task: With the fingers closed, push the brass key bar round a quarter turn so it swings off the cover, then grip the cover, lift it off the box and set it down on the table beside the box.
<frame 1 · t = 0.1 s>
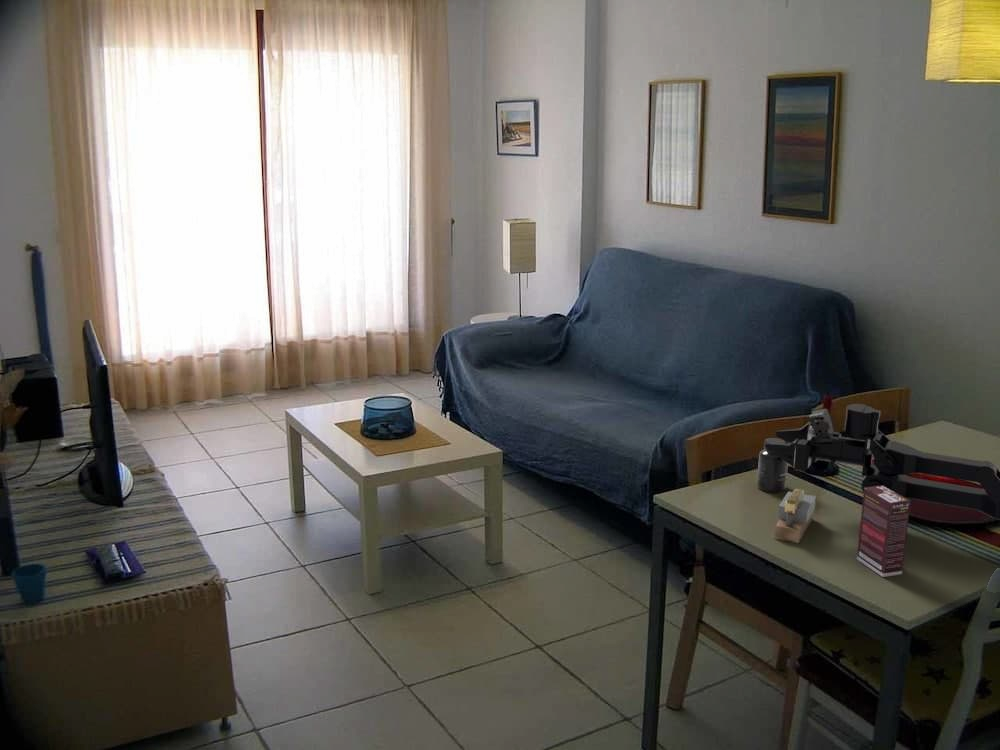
hand: (770, 439, 218), 17 cm above the table, tool horizontal, fingers open, 9 cm apart
turn key: (794, 500, 207), point 7 cm above the table, hinge at 0.0°
key box: (793, 528, 211), on the table
supplement bottle: (771, 488, 233), on the table
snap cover: (796, 513, 211), point 3 cm above the table, touching key box
supplement box: (878, 567, 194), on the table
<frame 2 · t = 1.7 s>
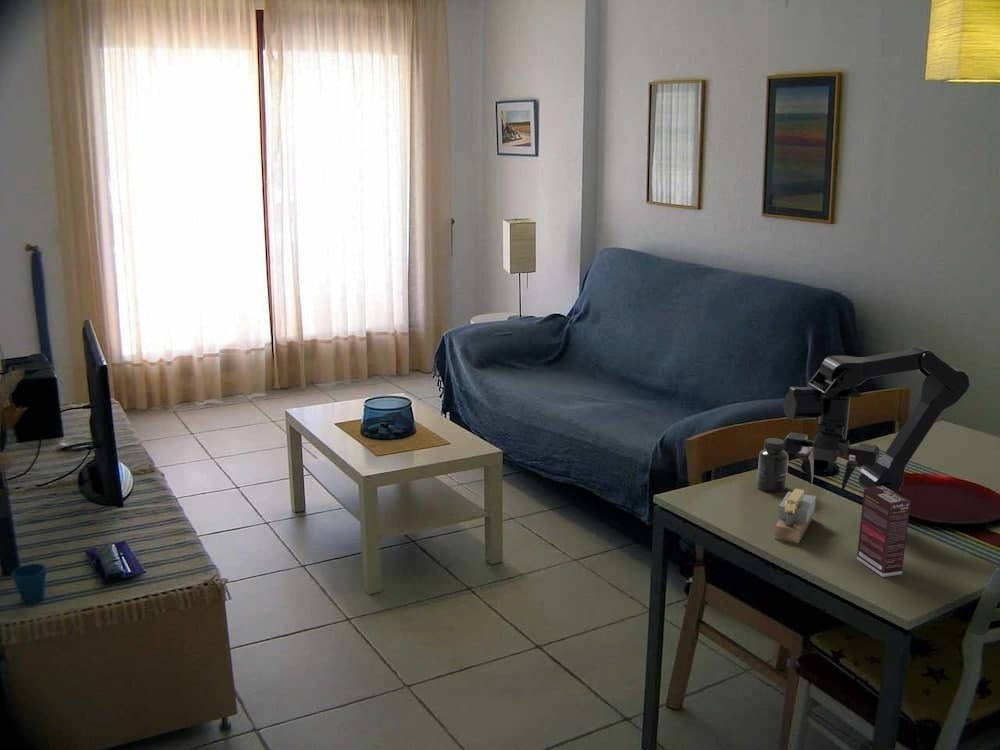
hand: (826, 486, 206), 11 cm above the table, tool pointing down, fingers open, 6 cm apart
nothing on the table moved.
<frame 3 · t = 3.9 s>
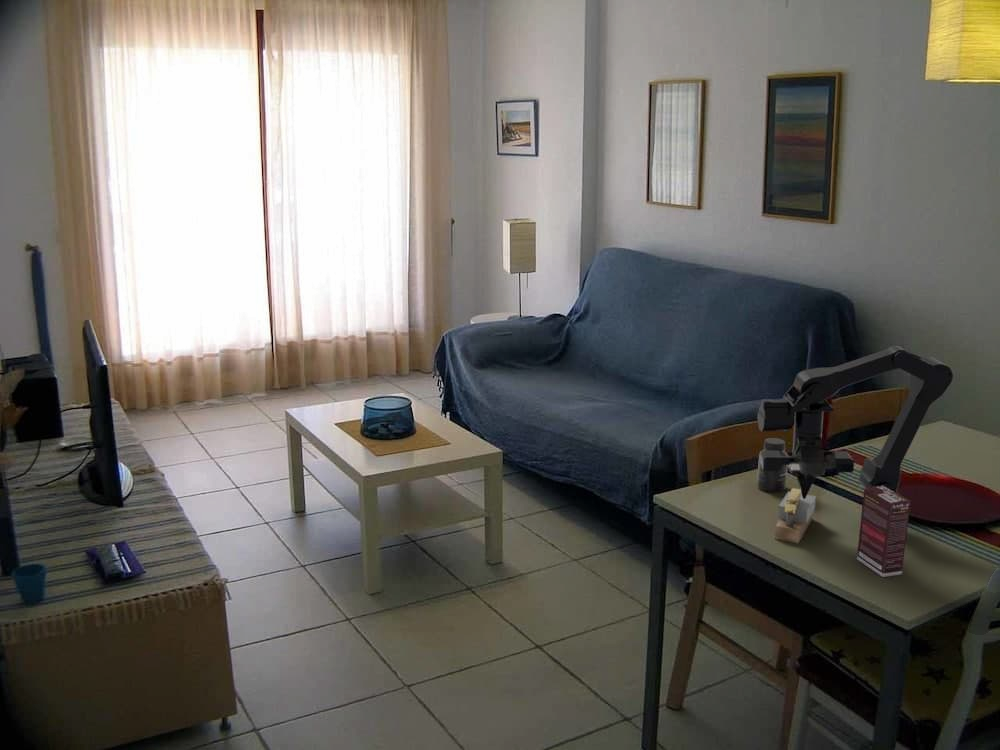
hand: (803, 498, 209), 7 cm above the table, tool pointing down, fingers closed
turn key: (793, 500, 207), point 7 cm above the table, hinge at 4.2°, touching gripper
everything else where it was.
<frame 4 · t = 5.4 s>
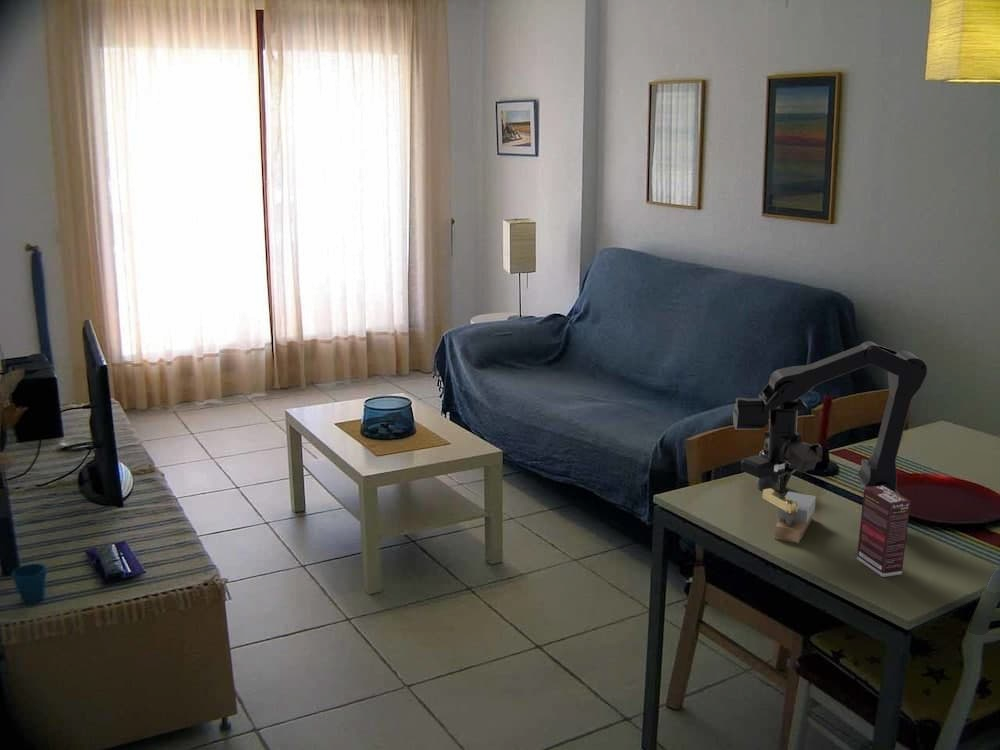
hand: (779, 495, 210), 7 cm above the table, tool pointing down, fingers closed
turn key: (780, 500, 207), point 7 cm above the table, hinge at 52.9°, touching gripper
everything else where it was.
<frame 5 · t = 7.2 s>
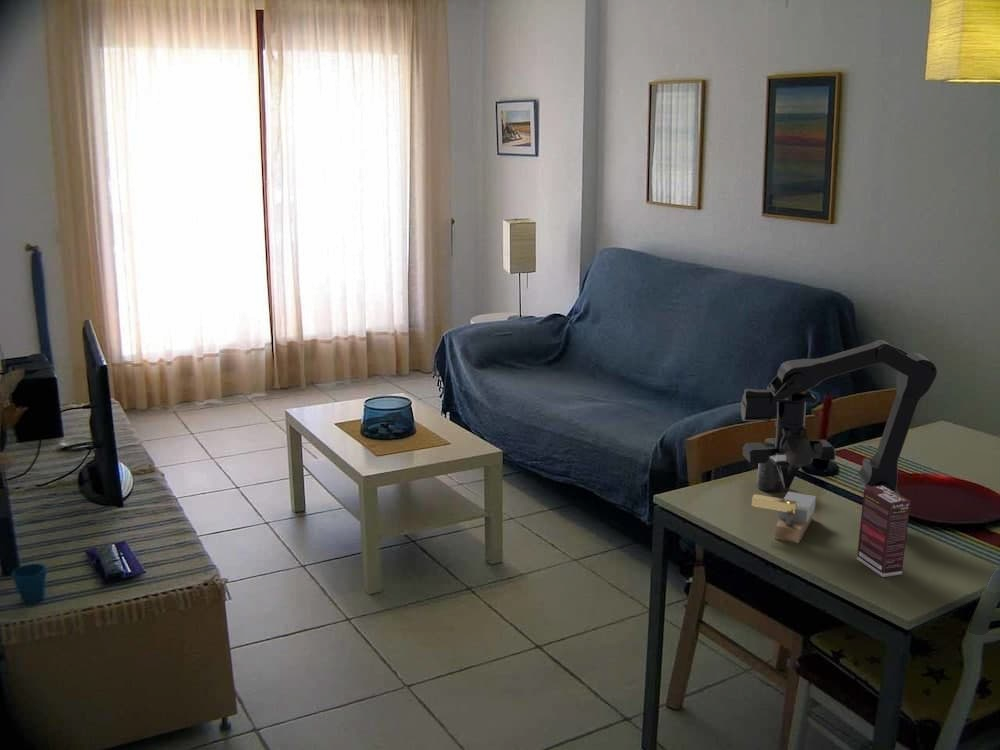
hand: (786, 488, 210), 9 cm above the table, tool pointing down, fingers closed
turn key: (774, 503, 206), point 7 cm above the table, hinge at 92.4°
everything else where it was.
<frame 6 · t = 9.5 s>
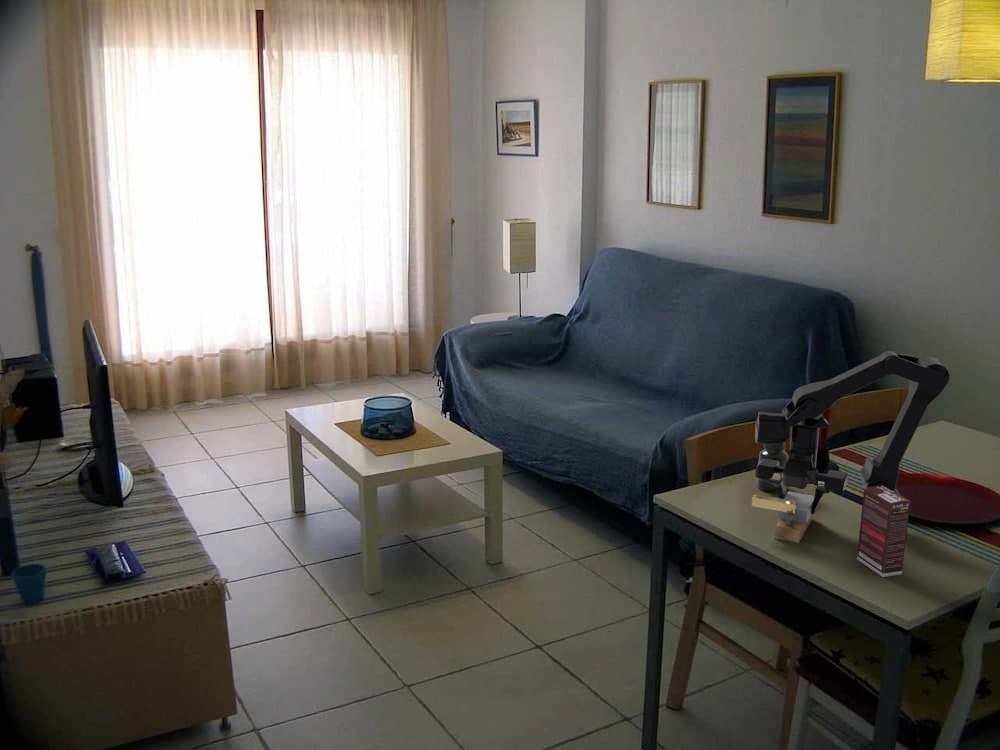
hand: (798, 511, 213), 3 cm above the table, tool pointing down, fingers closed on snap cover, 6 cm apart
turn key: (774, 503, 206), point 7 cm above the table, hinge at 92.9°
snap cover: (796, 513, 211), point 3 cm above the table, touching gripper, key box
everything else where it was.
when the fingers open (1 cm above the table, at t = 14.1 s): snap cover drops 2 cm, on the table.
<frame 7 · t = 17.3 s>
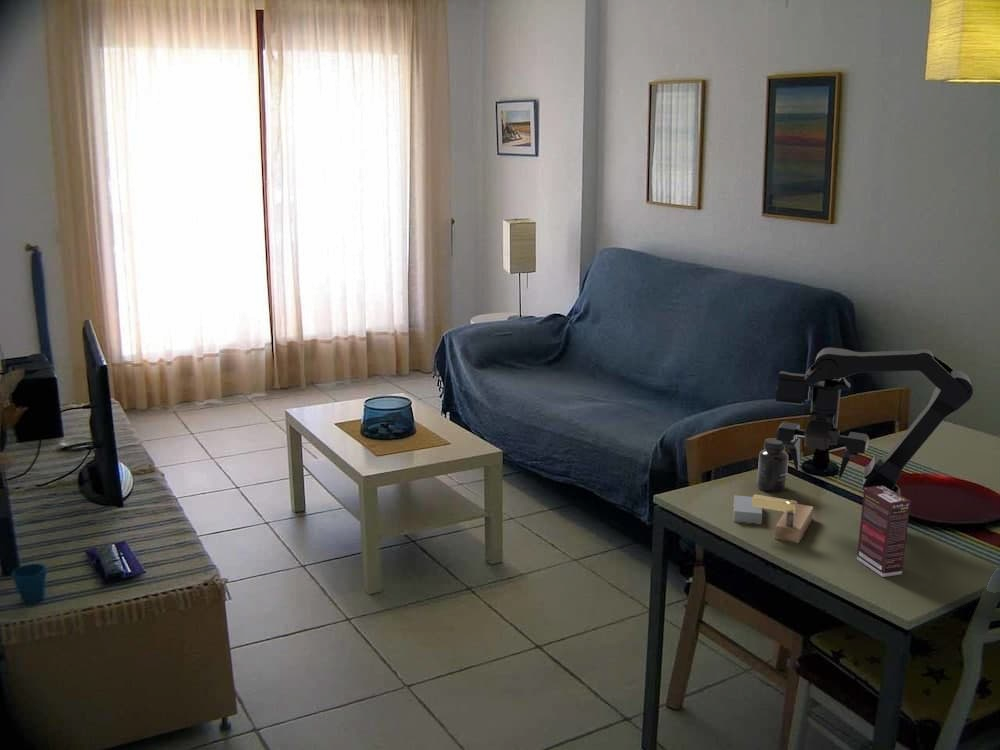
hand: (818, 473, 213), 11 cm above the table, tool pointing down, fingers open, 9 cm apart
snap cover: (747, 516, 218), on the table
everything else where it was.
at the end: turn key at +93° (first picture: +0°); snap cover inside the target area (1.5 cm from its centre), on the table; the gripper is holding nothing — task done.
